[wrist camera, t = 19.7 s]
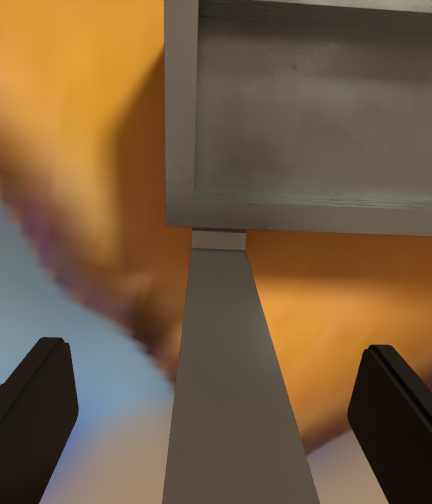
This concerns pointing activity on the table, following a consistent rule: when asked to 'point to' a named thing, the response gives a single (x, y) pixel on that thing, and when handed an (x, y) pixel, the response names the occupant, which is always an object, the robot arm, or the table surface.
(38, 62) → the table surface
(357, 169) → the slot block
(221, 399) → the grey rectangular bar
